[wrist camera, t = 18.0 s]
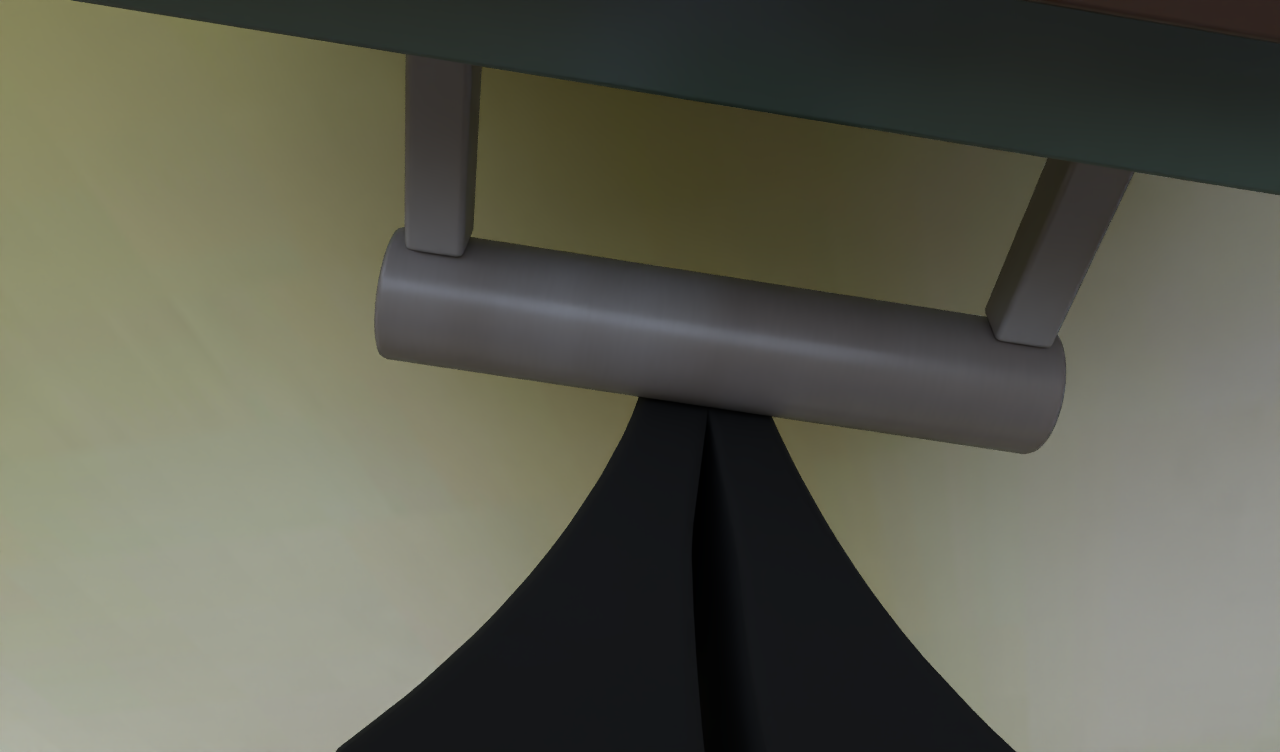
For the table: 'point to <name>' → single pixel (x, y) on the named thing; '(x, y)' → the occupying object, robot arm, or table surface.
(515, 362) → the drawer
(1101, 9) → the cabinet
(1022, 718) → the table surface
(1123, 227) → the table surface
